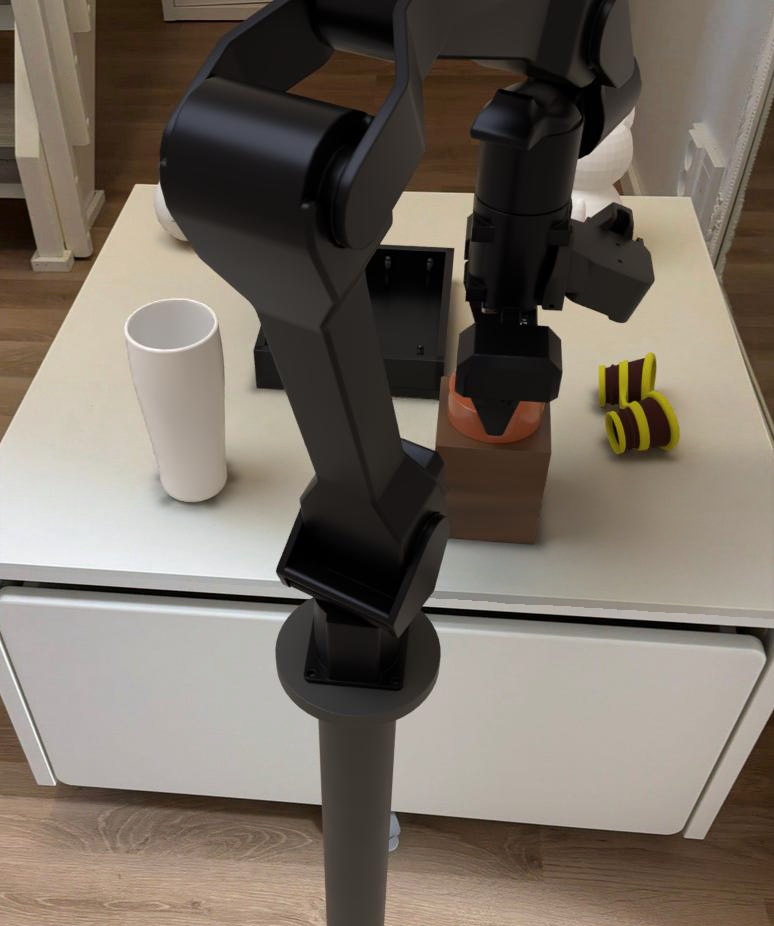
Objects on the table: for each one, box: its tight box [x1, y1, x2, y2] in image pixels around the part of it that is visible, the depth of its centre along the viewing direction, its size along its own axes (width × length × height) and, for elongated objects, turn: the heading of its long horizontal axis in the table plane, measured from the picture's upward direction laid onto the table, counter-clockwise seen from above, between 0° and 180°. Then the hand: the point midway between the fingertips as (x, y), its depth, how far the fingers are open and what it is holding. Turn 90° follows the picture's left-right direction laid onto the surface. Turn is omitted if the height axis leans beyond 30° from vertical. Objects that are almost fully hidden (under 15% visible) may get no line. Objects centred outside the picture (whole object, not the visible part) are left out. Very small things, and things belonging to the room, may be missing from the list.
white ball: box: [153, 180, 188, 242], centre depth 106 cm, size 10×7×7 cm
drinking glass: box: [123, 297, 228, 503], centre depth 77 cm, size 7×7×15 cm
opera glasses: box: [598, 352, 681, 455], centre depth 85 cm, size 10×5×5 cm, turn 179°
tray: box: [252, 243, 455, 400], centre depth 94 cm, size 18×16×4 cm
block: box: [434, 376, 553, 545], centre depth 77 cm, size 8×8×9 cm
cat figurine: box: [571, 106, 636, 222], centre depth 98 cm, size 9×12×15 cm
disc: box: [447, 370, 545, 444], centre depth 73 cm, size 7×7×2 cm
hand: (495, 401), depth 73 cm, fingers closed on disc, 7 cm apart
